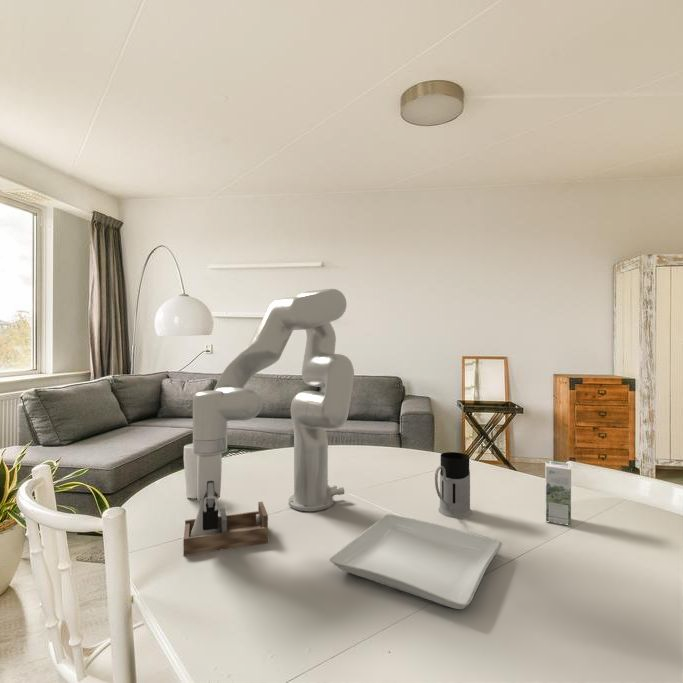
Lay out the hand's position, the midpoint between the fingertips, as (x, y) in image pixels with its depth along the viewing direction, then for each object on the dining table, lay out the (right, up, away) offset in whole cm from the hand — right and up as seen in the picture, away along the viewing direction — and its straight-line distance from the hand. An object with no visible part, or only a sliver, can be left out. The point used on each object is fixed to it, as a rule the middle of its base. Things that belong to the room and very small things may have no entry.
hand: (210, 520), depth 97 cm
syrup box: (+85, -5, +11) cm, 86 cm away
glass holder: (+59, -5, +15) cm, 61 cm away
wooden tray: (+3, -5, +1) cm, 6 cm away
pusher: (+3, -3, +1) cm, 5 cm away
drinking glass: (-13, -5, +28) cm, 32 cm away
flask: (-1, -4, -1) cm, 4 cm away
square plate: (+46, -5, -10) cm, 47 cm away
